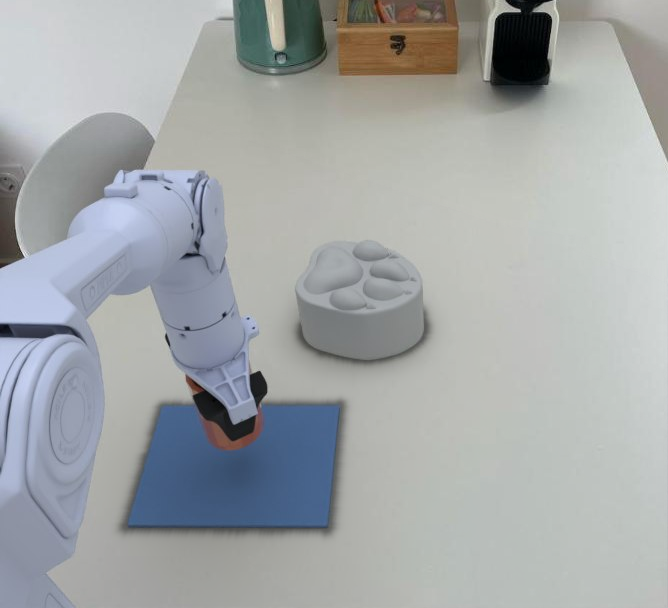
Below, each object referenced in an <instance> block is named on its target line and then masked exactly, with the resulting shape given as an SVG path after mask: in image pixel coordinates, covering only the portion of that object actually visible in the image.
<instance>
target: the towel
mask: <svg viewBox="0 0 668 608" xmlns="http://www.w3.org/2000/svg"><path fill="white" fill-rule="evenodd" d="M261 407H262V412H263V417H264V426H263V429H262V432H261V433H260V435H259V436H258V438H257V439H256V440H255V441H253V442H252V443H251V444H249V445H248V446H246V447H244V448H241V449H238V450H221V449H218V448H216V447H214V446H213V445H212V444H210V443H209V441H208V440H207V438H206V436H205V434H204V432H203V429H202V426H201V423H200V420H199V417H198V414H197V412H196V409H195V406H194V405H161V409H160V413H159V416H158V418H157V421H156V426H155V429H154V432H153V436H152V439H151V442H150V446H149V450H148V453H147V456H146V458H145V459H146V460H145V463H144V467H143V470H142V473H141V477H140V480H139V482H138V487H137V490H136V494H135V497H134V500H133V504H132V507H131V510H130V513H129V517H128V521H127V524H126V525H127V527H128V528H317V529H318V528H320V529H321V528H322V529H323V528H324V529H325V528H328V527H329V519H330V508H331V499H332V487H333V478H334V467H335V459H336V458H335V457H336V446H337V437H338V429H339V427H338V426H339V417H340V408H341V407H340V405H338V404H327V405H326V404H318V405H317V404H315V405H314V404H313V405H311V404H309V405H307V404H305V405H304V404H300V405H299V404H295V405H293V404H292V405H290V404H289V405H287V404H285V405H282V404H281V405H279V404H278V405H275V404H273V405H271V404H270V405H268V404H267V405H262V404H261Z"/></svg>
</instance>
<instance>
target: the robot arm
mask: <svg viewBox="0 0 668 608" xmlns="http://www.w3.org/2000/svg"><path fill="white" fill-rule="evenodd" d="M103 192H104V197H103V198H100V199H99V200H96V201H95V202H92V203H91V204H89V205H87V206H85V207H84V208H82V209H81V210H80V211H79V212H78V213H77V214H76V215H75V216H74V217H73V219H72V221H71V222H70V224H69V227H68V231H67V234H66V239H64V240H61V241H60V242H57V243H55V244H53V245H51V246H48V247H46V248H43V249H41V250H40V251H37V252H35V253H32V254H30V255H28V256H26V257H23V258H21V259H18V260H17V261H14V262H12V263H9V264H8V265H5V266H3V267H1V268H0V608H77V607H76V605H75V604H74V603H73V602H72V601H71V600H70V599H69V598H68V597H67V595H66V594H65V593H64V592H63V591H62V590H61V588H60V587H58V584H56V583H55V582H54V581H53V580H52V578H51V577H50V576H49V575H48V574H47V573H48V572H49V571H51V570H53V569H55V568H56V567H59V566H60V565H61V564H63V563H65V562H66V561H68V560H70V559H71V558H72V557H74V556H75V555H74V554H75V553H76V548H77V543H78V537H79V532H80V529H81V527H82V524H83V521H84V518H85V514H86V508H87V503H88V497H89V492H90V486H91V481H92V475H93V471H94V465H95V459H96V455H97V450H98V446H99V442H100V439H101V435H102V430H103V425H104V417H105V405H106V404H105V403H106V400H105V399H106V398H105V385H104V379H103V370H102V369H103V368H102V363H101V356H100V351H99V348H98V347H99V346H98V344H97V340H96V337H95V335H94V333H93V331H92V329H91V326H90V324H89V323H88V319H89V318H90V317H91V316H92V315H93V314H94V313H95V312H96V310H97V309H98V308H99V307H100V306H101V305H102V304H103V303H104V302H105V301H106V300H107V298H108V297H110V295H113V296H129V295H133V294H136V293H138V292H141V291H143V290H145V289H146V288H148V287H150V290H151V293H152V295H153V298H154V302H155V305H156V307H157V310H158V313H159V316H160V319H161V321H162V325H163V327H164V330H165V334H164V339H165V341H166V344H167V346H168V348H169V350H170V355H171V358H172V361H173V363H174V365H175V366H176V368H178V369H179V370H180V371H181V372H183V373H184V375H185V374H186V375H188V376H189V377H190V378H191V379H193V380H194V381H195V382H197V383H198V384H199V385H200V386H202V387H203V388H204V389H205V390H204V391H202V392H199V393H197V394H195V395H193V396H192V397H193V400H194V402H195V404H196V406H197V408H198V410H199V412H200V414H201V415H202V416H203V417H204V418H205V419H206V420H207V421H212V422H215V423H216V424H218V425H219V426H220V428H221V429H222V430H223V432H224V433H225V435H226V436H227V437H228V438H229V439H230V440H231V441H233V442H234V441H236V440H238V439H240V438H242V437H244V436H247V435H249V434H251V433H253V432H254V428H255V421H256V414H258V412H257V409H258V406H259V404H260V403H261V402H262V401H263V399H264V398H265V397H266V396H267V395H268V390H269V389H268V382H267V380H266V379H265V376H264V375H263V373H262V371H261V370H257V371H255V372H253V374H250V370H249V360H250V347H249V344H250V341H251V340H252V339H254V338H257V337H258V336H259V335H260V328H259V325H258V323H257V322H256V320H255V319H254V317H253V316H252V315H244V316H242V317H241V314H240V310H239V306H238V303H237V299H236V294H235V289H234V286H233V282H232V278H231V274H230V270H229V267H228V263H227V259H226V254H227V250H228V247H229V246H228V245H229V244H228V243H229V242H228V238H229V237H228V233H227V229H226V221H225V196H224V190H223V186H222V184H220V182H219V180H218V179H217V178H216V177H210V176H209V174H208V173H206V171H205V170H203V169H199V170H198V169H134V170H132V171H129V170H124V169H119V171H118V172H117V173H116V175H115V177H114V179H113V182H112V183H110V184H109V185H106V186H105V187H104V188H103ZM192 397H191V398H192ZM193 400H192V401H193Z"/></svg>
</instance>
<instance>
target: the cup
mask: <svg viewBox="0 0 668 608" xmlns="http://www.w3.org/2000/svg"><path fill="white" fill-rule="evenodd" d="M249 370H250V374H253V373H254V372H253V369H252V365H251V361H250V359H249ZM184 376H185V377H184V378H185V383H186V386H187V389H188V391H189V394H190V397H191V400H192V403H193V406H195V409H196V412H197V414H198V417H199V420H200V423H201V426H202V429H203V432H204V434H205V436H206V438H207V440H208V441H209V443H210V444H212V445H213V446H214V447H216V448H218V449H221V450H238V449H241V448H244V447H246V446H248V445H249V444H251V443H252V442H253V441H255V440H256V439H257V438H258V436H259V435H260V433H261V432H262V429H263V426H264V417H263V412H262V407H261V405H262V404H261V402H260V404H259V406H258V409H257V412H258V414H256V421H255V428H254V432H253V433H251V434H249V435H247V436H244V437H242V438H240V439H238V440H236V441H234V442H233V441H231V440H230V439H229V438H228V437H227V436H226V435H225V433H224V432H223V430H222V429H221V428H220V426H219V425H218V424H216V423H215V422H212V421H207V420H206V419H205V418H204V417H203V416H202V415H201V414H200V412H199V410H198V408H197V406H196V404H195V402H194V400H193V397H192V396H193V395H195V394H197V393H199V392H202V391H204V390H205V389H204V388H203V387H202V386H200V385H199V384H198V383H197V382H195V381H194V380H193V379H191V378H190V377H189V376H188V375H186V374H185V373H184Z"/></svg>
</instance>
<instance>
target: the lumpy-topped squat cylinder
mask: <svg viewBox="0 0 668 608" xmlns="http://www.w3.org/2000/svg"><path fill="white" fill-rule="evenodd" d="M423 289H424V285H423V279H422V276H421V274H420V272H419V270H418V269H417V267H416V266H415V265H414V264H413V263H412V262H411V261H410V260H409V259H407V258H406V257H405V256H404V255H402V254H400V253H399V252H397V251H396V250H393V249H391V248H387V247H385V246H384V245H383V244H381V243H380V242H378V241H376V240H372V239H366V240H361V241H360V242H358V241H357V242H356V241H346V240H332V241H328V242H326V243H324V244H321V245H320V246H318V247H316V248H315V249H314V250H313V252H312V253H311V256H310V259H309V262H308V265H307V266H306V269H305V270H304V272H303V273H302V274H301V275H300V276H299V278H298V279H297V280H296V282H295V285H294V292H295V296H296V303H297V309H298V314H299V319H300V324H301V330H302V336H303V338H304V340H305V342H306V343H307V344H308V345H309V346H311V347H313V348H314V349H316V350H318V351H322V352H324V353H328V354H332V355H336V356H338V357H344V358H348V359H354V360H362V361H373V360H379V359H384V358H388V357H393V356H396V355H400V354H401V353H404V352H405V351H407V350H409V349H411V348H412V347H414V346H415V345H416V344H417V343H419V341H420V340H421V339H422V338H423V335H424V331H425V317H424V316H425V313H424V290H423Z"/></svg>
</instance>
